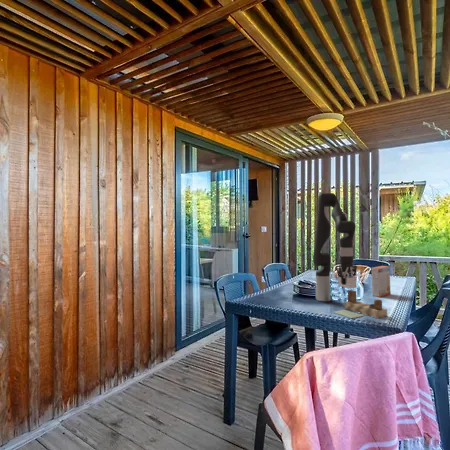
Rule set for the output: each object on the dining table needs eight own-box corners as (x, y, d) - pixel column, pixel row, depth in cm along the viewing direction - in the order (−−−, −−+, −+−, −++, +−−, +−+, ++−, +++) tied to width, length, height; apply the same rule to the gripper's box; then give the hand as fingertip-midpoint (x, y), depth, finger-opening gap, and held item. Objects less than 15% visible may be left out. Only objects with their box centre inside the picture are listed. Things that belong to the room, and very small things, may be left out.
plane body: (344, 308, 198) (344, 290, 198) (354, 306, 201) (353, 289, 201) (377, 318, 176) (376, 298, 176) (387, 316, 179) (386, 297, 179)
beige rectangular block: (338, 285, 187) (338, 273, 187) (344, 284, 189) (344, 272, 189) (350, 288, 179) (349, 275, 179) (356, 287, 181) (356, 275, 181)
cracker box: (383, 293, 235) (382, 265, 235) (391, 294, 230) (390, 266, 230) (371, 295, 228) (371, 267, 228) (379, 297, 223) (378, 268, 223)
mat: (333, 312, 189) (333, 311, 189) (344, 310, 192) (344, 309, 192) (351, 318, 176) (351, 317, 176) (363, 316, 180) (363, 315, 180)
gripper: (350, 253, 190) (351, 281, 191) (332, 255, 185) (333, 284, 185) (360, 254, 184) (361, 283, 184) (341, 256, 178) (342, 286, 178)
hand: (347, 283), depth 184 cm, fingers closed on beige rectangular block, 5 cm apart
